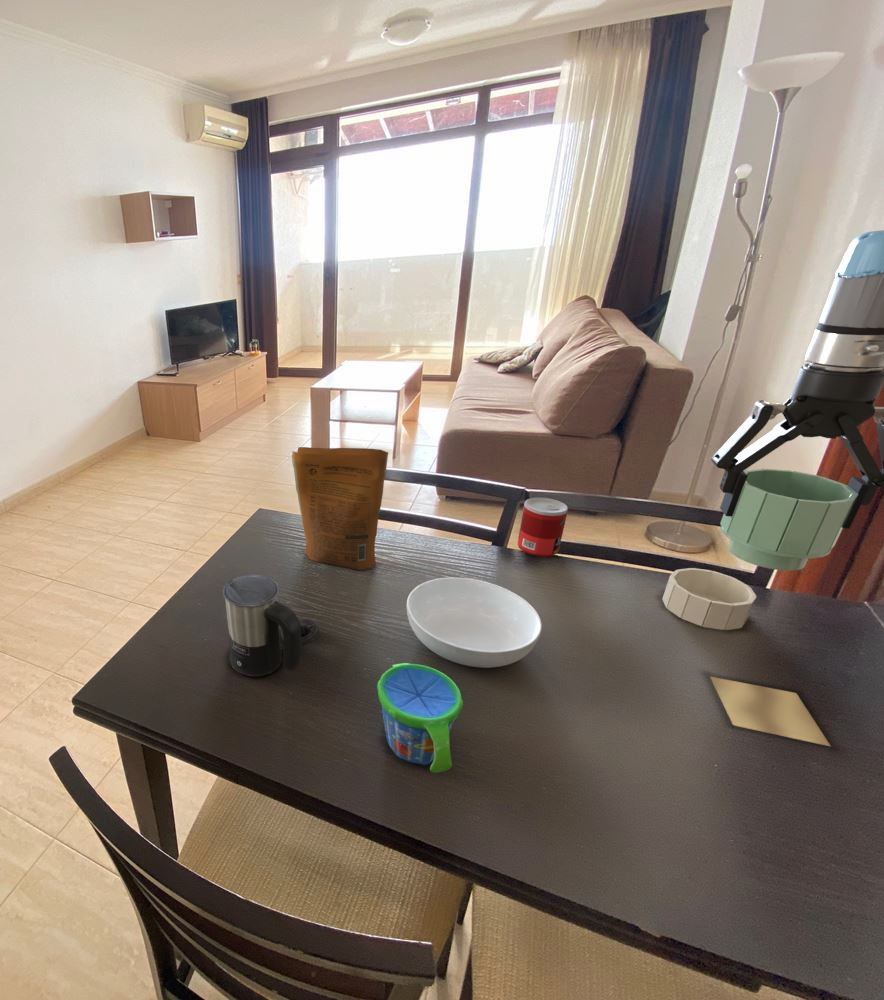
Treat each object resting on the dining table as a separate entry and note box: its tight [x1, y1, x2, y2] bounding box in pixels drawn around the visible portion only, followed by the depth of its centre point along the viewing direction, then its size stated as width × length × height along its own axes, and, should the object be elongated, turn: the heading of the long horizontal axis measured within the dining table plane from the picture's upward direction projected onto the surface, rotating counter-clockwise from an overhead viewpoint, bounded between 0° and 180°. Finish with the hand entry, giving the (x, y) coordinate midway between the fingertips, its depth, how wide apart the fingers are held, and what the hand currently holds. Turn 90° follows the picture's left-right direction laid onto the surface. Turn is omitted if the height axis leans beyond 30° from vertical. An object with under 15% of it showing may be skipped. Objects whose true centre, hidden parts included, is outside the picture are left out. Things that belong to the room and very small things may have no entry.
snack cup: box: [376, 662, 464, 774], centre depth 74 cm, size 16×10×10 cm
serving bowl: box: [406, 577, 543, 669], centre depth 93 cm, size 21×21×7 cm
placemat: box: [709, 676, 831, 747], centre depth 77 cm, size 10×10×1 cm
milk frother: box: [222, 574, 321, 678], centre depth 93 cm, size 14×16×15 cm
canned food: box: [517, 497, 569, 558], centre depth 116 cm, size 8×8×11 cm
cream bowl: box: [662, 567, 758, 631], centre depth 95 cm, size 11×11×6 cm
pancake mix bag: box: [291, 446, 389, 571], centre depth 114 cm, size 7×19×28 cm, turn 62°
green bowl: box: [719, 468, 859, 572], centre depth 77 cm, size 12×12×12 cm
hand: (781, 518), depth 77 cm, fingers closed on green bowl, 12 cm apart
